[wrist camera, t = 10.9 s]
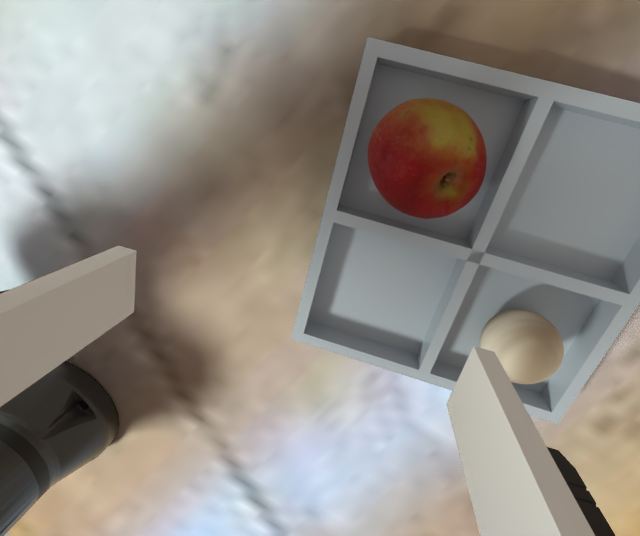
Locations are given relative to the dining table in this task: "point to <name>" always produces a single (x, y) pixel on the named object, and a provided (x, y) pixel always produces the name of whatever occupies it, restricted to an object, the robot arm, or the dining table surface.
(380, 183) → the apple
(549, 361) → the wooden ball
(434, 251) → the tray
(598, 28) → the dining table surface
